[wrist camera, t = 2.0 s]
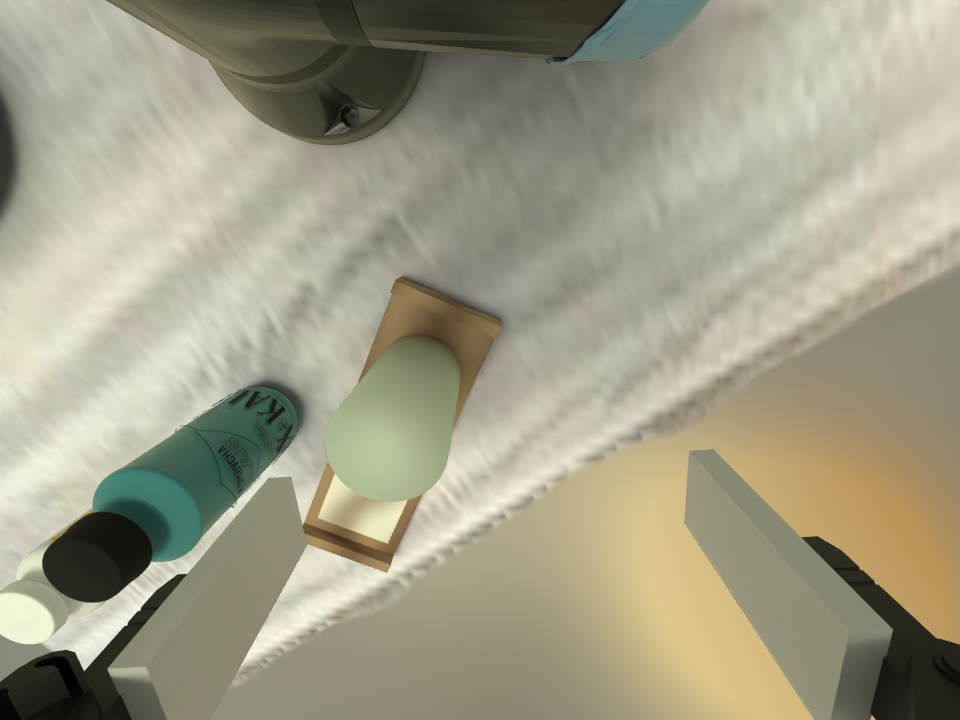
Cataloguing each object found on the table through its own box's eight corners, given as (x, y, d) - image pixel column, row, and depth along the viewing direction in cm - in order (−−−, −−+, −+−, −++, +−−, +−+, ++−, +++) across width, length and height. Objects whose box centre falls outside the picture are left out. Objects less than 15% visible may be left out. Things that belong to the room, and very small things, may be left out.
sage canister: (366, 393, 38) (308, 475, 26) (395, 320, 36) (348, 370, 24) (441, 424, 39) (421, 518, 26) (473, 354, 37) (468, 419, 25)
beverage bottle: (267, 455, 42) (82, 650, 23) (220, 398, 40) (-23, 557, 21) (322, 421, 41) (176, 597, 21) (276, 362, 39) (74, 495, 20)
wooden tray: (307, 521, 44) (295, 539, 41) (401, 276, 37) (394, 280, 34) (392, 552, 45) (387, 572, 42) (500, 320, 38) (501, 327, 35)
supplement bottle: (146, 546, 45) (17, 668, 33) (101, 496, 43) (-52, 603, 31) (198, 520, 44) (86, 635, 32) (154, 467, 42) (19, 567, 30)
